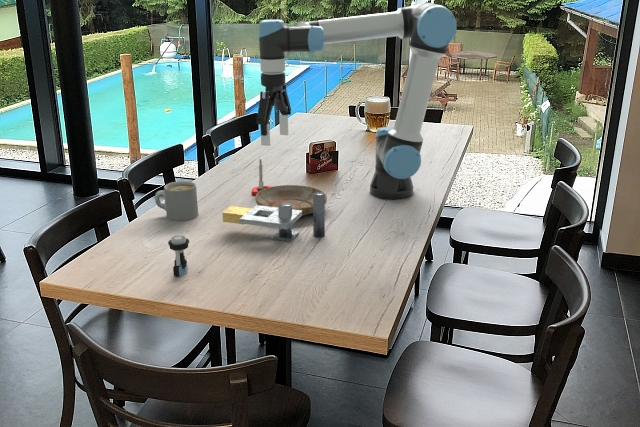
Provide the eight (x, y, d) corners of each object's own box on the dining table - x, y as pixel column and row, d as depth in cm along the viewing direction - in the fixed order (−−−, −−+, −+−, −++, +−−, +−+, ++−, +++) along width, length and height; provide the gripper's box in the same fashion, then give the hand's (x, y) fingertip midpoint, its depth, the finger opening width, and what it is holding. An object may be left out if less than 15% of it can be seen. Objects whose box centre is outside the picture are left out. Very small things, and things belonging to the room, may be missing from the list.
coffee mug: (203, 211, 224) (201, 182, 221) (189, 222, 216) (186, 192, 212) (167, 207, 228) (164, 179, 225) (151, 218, 219) (148, 188, 216)
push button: (177, 265, 186) (174, 231, 182) (196, 267, 185) (193, 232, 181) (168, 276, 179) (164, 241, 176) (187, 278, 179) (184, 242, 175)
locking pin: (326, 234, 206) (326, 192, 201) (322, 238, 203) (322, 196, 198) (315, 232, 207) (315, 191, 202) (311, 236, 204) (311, 195, 199)
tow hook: (255, 188, 248) (249, 195, 239) (254, 153, 244) (247, 159, 235) (278, 189, 247) (272, 196, 238) (277, 154, 243) (272, 160, 234)
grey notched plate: (302, 230, 208) (301, 199, 205) (287, 245, 198) (286, 213, 194) (236, 222, 215) (235, 192, 212) (219, 236, 205) (217, 204, 201)
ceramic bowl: (273, 228, 211) (272, 212, 209) (245, 205, 231) (244, 190, 229) (339, 215, 221) (339, 200, 219) (307, 194, 240) (306, 180, 239)
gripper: (279, 65, 222) (281, 129, 230) (242, 78, 201) (246, 148, 208) (300, 66, 220) (301, 131, 227) (265, 79, 198) (268, 150, 206)
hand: (275, 140), depth 218 cm, fingers open, 13 cm apart
